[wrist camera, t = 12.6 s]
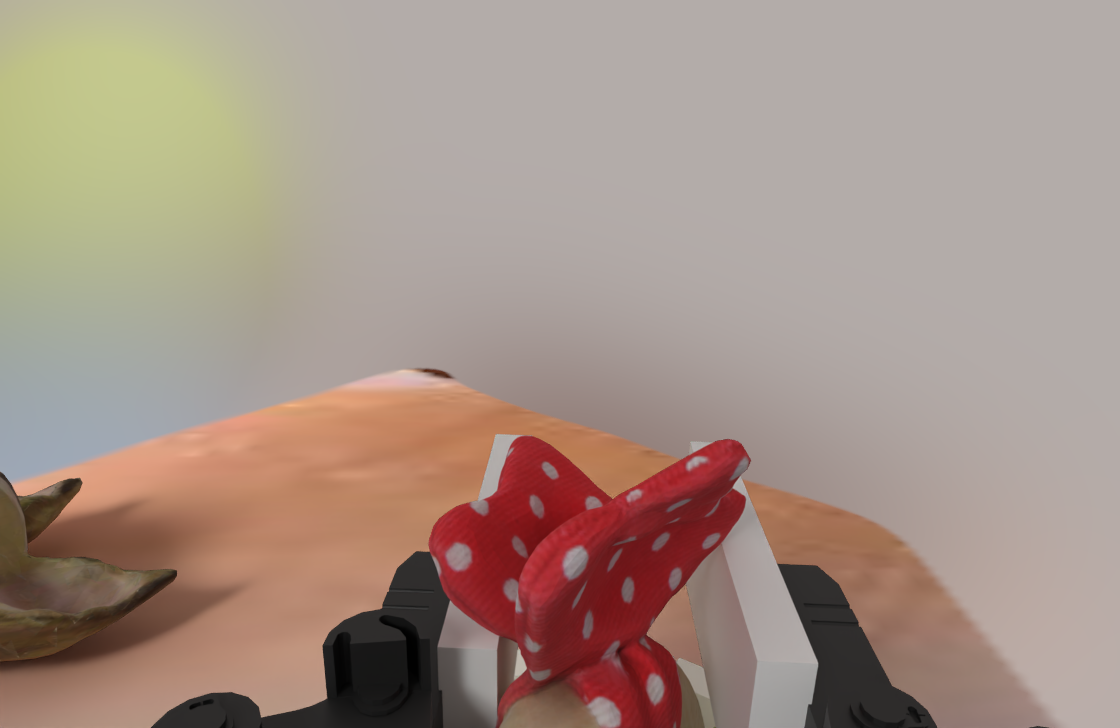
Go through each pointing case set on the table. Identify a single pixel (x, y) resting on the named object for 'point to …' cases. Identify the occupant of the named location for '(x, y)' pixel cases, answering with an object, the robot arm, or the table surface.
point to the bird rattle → (588, 581)
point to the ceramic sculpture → (57, 580)
